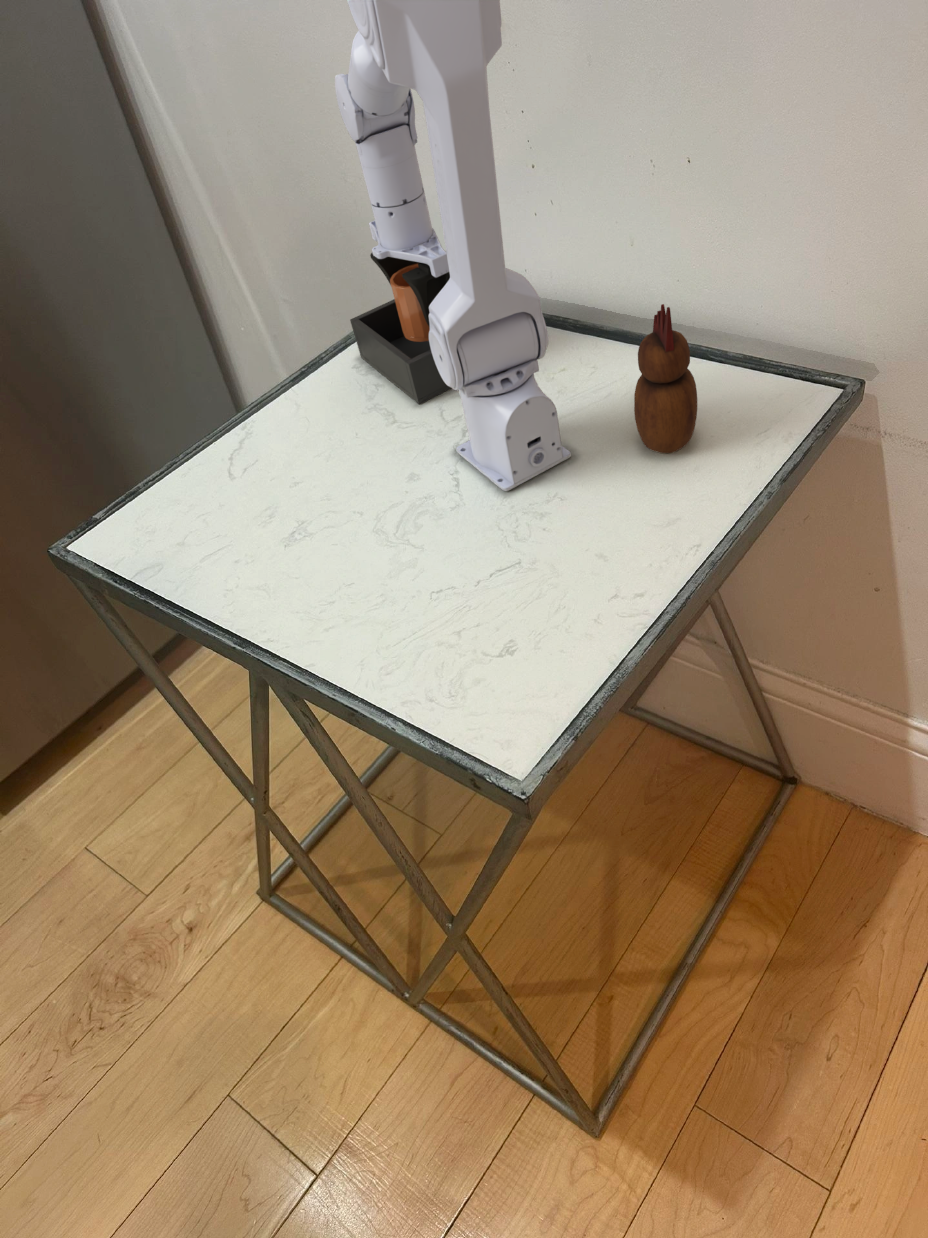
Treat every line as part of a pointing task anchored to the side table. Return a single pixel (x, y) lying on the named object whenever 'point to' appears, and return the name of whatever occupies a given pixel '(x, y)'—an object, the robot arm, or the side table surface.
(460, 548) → the side table surface
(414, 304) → the pot
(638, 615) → the side table surface
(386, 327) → the dark grey storage bin
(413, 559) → the side table surface
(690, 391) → the wooden figurine
